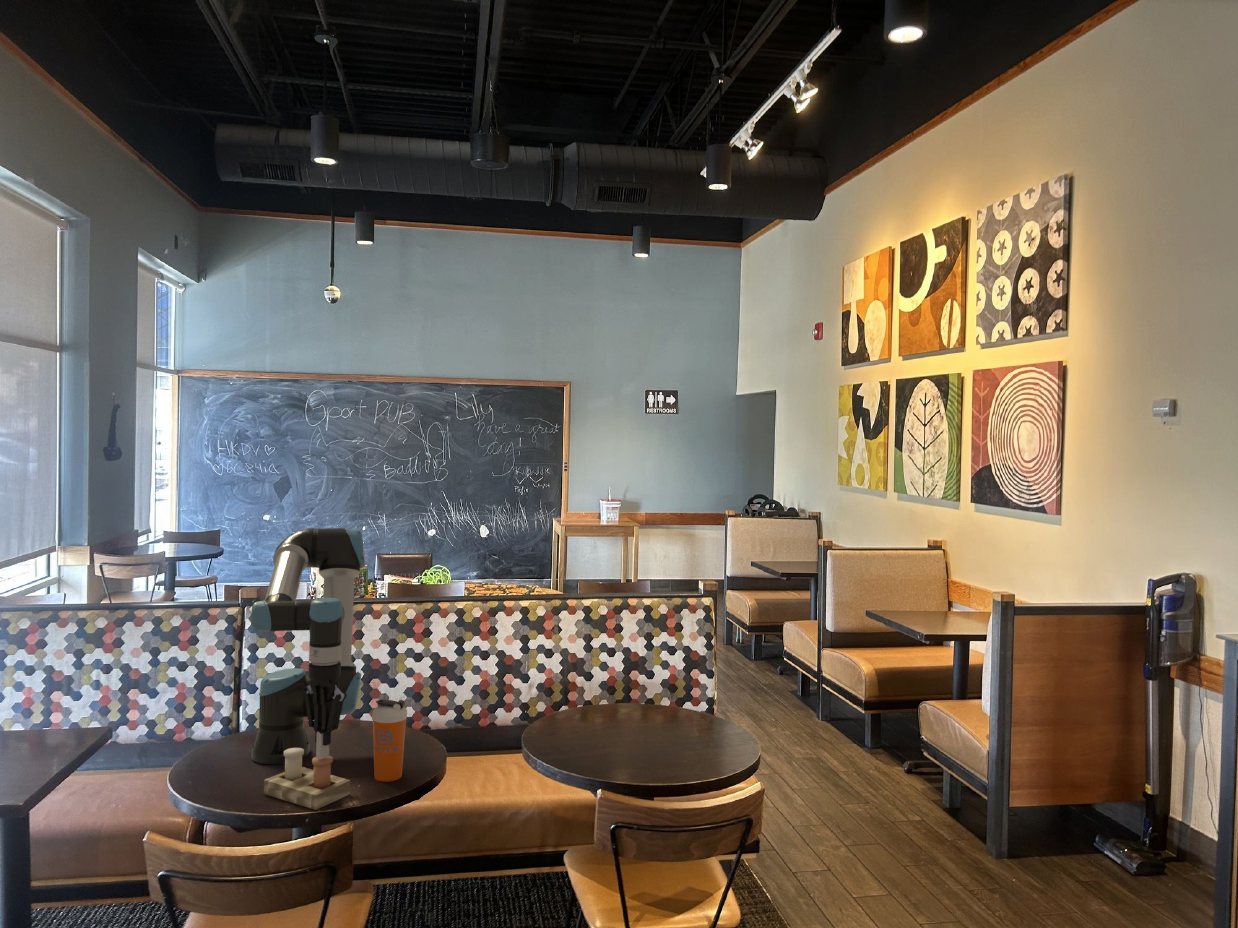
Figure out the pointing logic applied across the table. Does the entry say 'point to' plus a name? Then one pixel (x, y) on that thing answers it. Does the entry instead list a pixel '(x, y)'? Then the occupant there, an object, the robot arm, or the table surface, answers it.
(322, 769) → the plug rust
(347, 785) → the socket board
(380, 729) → the shaker bottle
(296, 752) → the plug cream
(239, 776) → the table surface
